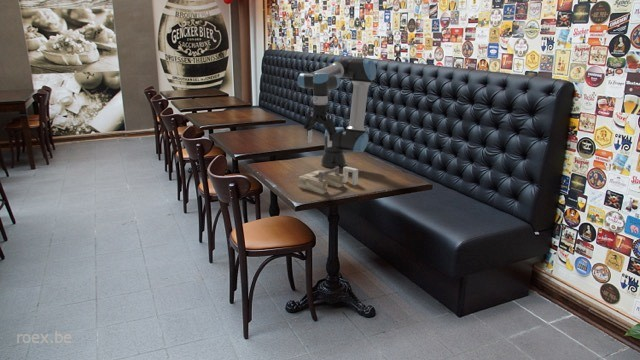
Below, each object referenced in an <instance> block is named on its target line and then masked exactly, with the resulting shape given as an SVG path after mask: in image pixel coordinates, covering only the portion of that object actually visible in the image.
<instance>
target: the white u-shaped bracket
mask: <svg viewBox="0 0 640 360" xmlns="http://www.w3.org/2000/svg"><path fill="white" fill-rule="evenodd" d="M349 173H352V176H351V177H352V180H351V181H352V182H351V185H352V186H357V185H358V184H359V183H358V182H359V168H355V167H351V166H346V165H345V166H344V167H342V175H344V184H346V183H348V182H349Z"/></svg>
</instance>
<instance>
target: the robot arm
mask: <svg viewBox="0 0 640 360" xmlns="http://www.w3.org/2000/svg"><path fill="white" fill-rule="evenodd" d="M376 76H377V66H376V63H375V62H374V60H372V59H370V58H352V57H351V58H350V57H349V58H344V59H340V60H339V59H338V61H335V62H332V63H331V64H330V65H328V66H326V67H323V68H321V69H318V70H315V71H313V72H309V73H306V72H305V73H304V72H303V73H300V74H299V75H298V76H297V85H298V87H300V88H303V89H312V111H309V112H308V114H307V115H308V116H307V118H306V120H305V124H304V126H303V129H304V130H306V135H307V143H308V144H311V143H313V130H312V129H313V127H314V126H315V125H316V123H321V124H322V125H323V126H324V129H325V131H324V152H323V156H322V159H321V163H320V164H321V166H322V167H324V168H331V169H334V168H335V167H337V166H338V167H339V169H340V168H343V167H346V165H347V161H346V158H345V155H344V151H348V152H349V151H350V152H354V153H362V152H364V151H365V150H366V148H367V146H368V143H369V134H368V133H366V132H367V130H366V129H365V126H364V125H365V118H366V117H365V116H366V108H367V102H368V92H369V91H368V90H369V86H370V85H371V84H372V81H374V80H375V79H376ZM341 79H350V80H351V83H352V85H353V89H352V97H351V105H350V116H349V124H348V125H347V127H346V129H345V128H344V127H342V126H335V123H334V121H333V115H332V114H328V113H327V112H328V110H329V109H328V102H329V98H328V97H329V91H334V90H336V89H338V88H339V87H340V85H341Z"/></svg>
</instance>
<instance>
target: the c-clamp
mask: <svg viewBox="0 0 640 360" xmlns="http://www.w3.org/2000/svg"><path fill="white" fill-rule="evenodd" d="M344 184H345V183H344V175H343V174H342V173H340V168H339V167H338V166H337V167H335V168H331V169H328V170H324V169H316V170H314V171H311V172H309V173H306V174H302V175H299V176H298V188H300V189H304V190H307V191H311V192H314V193H318V194H320V195H324V194H325V193H328V186H331V187H336V188H342V187H343V186H344Z"/></svg>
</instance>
